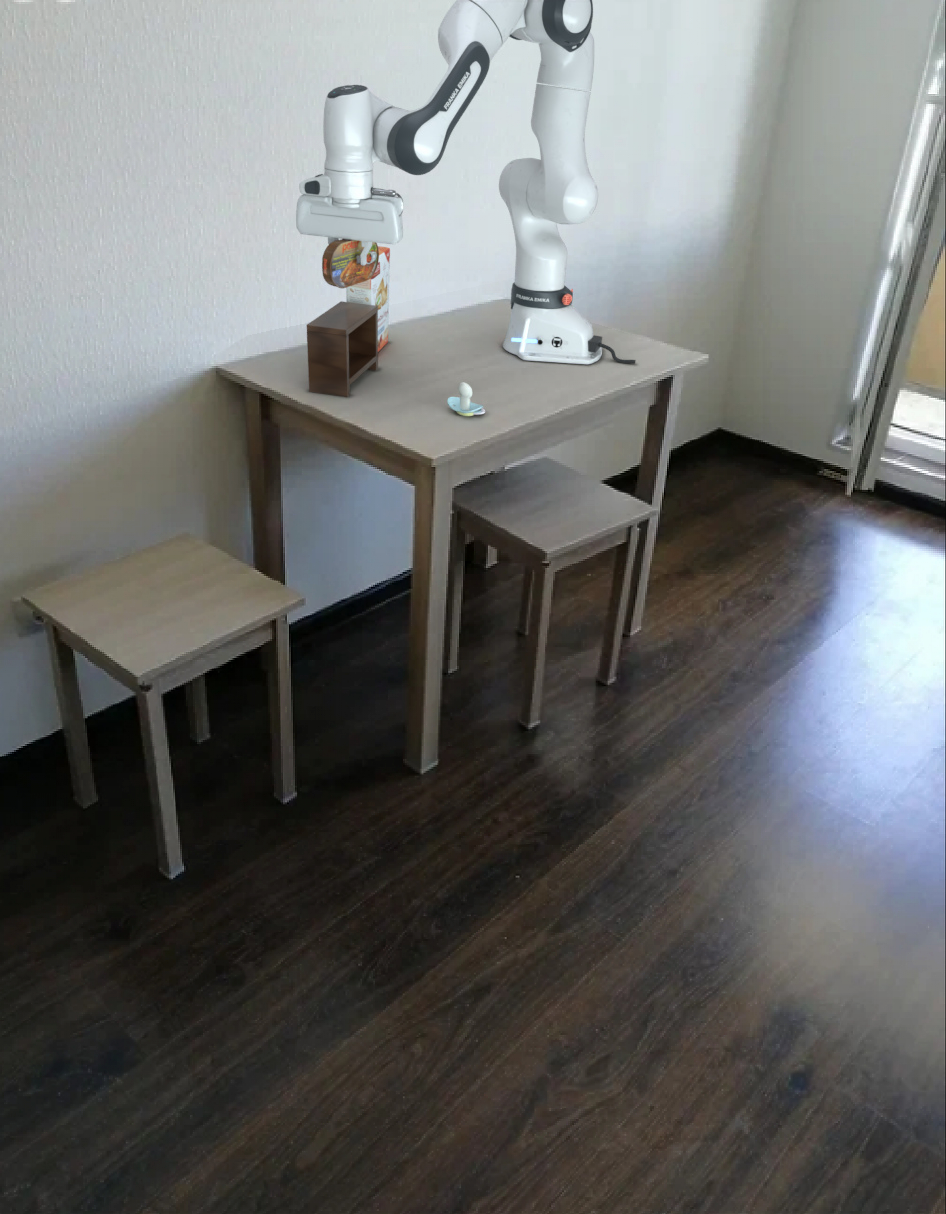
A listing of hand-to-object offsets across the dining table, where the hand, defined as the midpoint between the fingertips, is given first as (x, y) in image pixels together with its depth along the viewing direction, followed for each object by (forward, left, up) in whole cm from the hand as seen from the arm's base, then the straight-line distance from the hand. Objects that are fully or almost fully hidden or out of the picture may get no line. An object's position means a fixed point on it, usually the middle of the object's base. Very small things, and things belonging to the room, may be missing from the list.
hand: (350, 263), depth 188 cm
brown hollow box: (+2, 0, -23) cm, 23 cm away
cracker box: (+4, -20, -23) cm, 31 cm away
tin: (0, 0, -4) cm, 4 cm away
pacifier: (-26, +8, -23) cm, 36 cm away
